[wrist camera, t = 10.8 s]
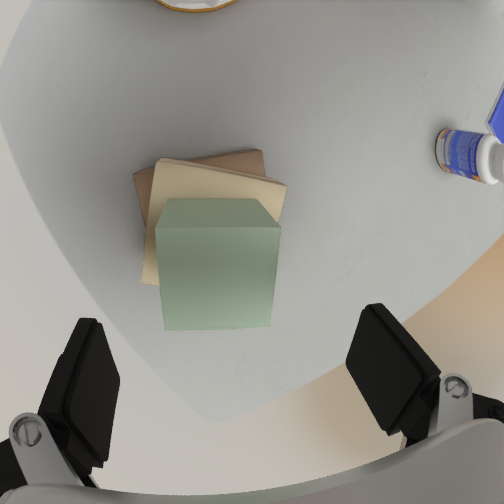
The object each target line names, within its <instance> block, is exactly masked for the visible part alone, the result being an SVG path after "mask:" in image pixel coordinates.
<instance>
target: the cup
mask: <svg viewBox="0 0 504 504" xmlns="http://www.w3.org/2000/svg"><path fill="white" fill-rule="evenodd" d="M157 1H158V2H160V3H161V4H163V5H164V6H166V7H168V8H170V9H172V10H178V11H184V12H205V11H214V10H216V9H219V8H222V7H224V6H227V5H229V4H231V3H233V2H234V1H236V0H157Z"/></svg>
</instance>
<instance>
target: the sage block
mask: <svg viewBox="0 0 504 504" xmlns="http://www.w3.org/2000/svg"><path fill="white" fill-rule="evenodd" d="M280 233H281V227H280V226H279V224H278V223H277V222H276V221H275V220H274V218H273V217H272V216H271V215H270V214H269V212H268V211H267V210H266V209H265V208H264V206H263V205H262V204H261V203H260V202H259V201H258V199H226V198H187V199H168V200H167V202H166V204H165V206H164V209H163V211H162V213H161V216H160V218H159V220H158V223H157V225H156V227H155V234H156V250H157V263H158V274H159V284H160V294H161V303H162V311H163V319H164V326H165V330H214V329H237V328H255V327H270V320H271V312H272V304H273V296H274V287H275V279H276V270H277V261H278V252H279V242H280Z"/></svg>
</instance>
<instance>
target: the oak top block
mask: <svg viewBox="0 0 504 504" xmlns="http://www.w3.org/2000/svg"><path fill="white" fill-rule="evenodd" d="M286 191H287V186H286V185H284V184H283V183H281V182H279V181H278V180H276V179H272V178H267V177H263V176H258V175H254V174H249V173H245V172H240V171H235V170H230V169H225V168H220V167H215V166H209V165H204V164H198V163H192V162H187V161H181V160H174V159H168V158H161V159H159V160H158V161H156V166H155V172H154V178H153V184H152V190H151V197H150V204H149V211H148V219H147V227H146V236H145V246H144V256H143V269H142V283H144V284H150V285H157V286H160V284H159V274H158V263H157V250H156V234H155V227H156V225H157V223H158V220H159V218H160V216H161V213H162V211H163V209H164V206H165V204H166V202H167V200H168V199H187V198H226V199H258V201H259V202H260V203H261V204H262V205H263V206H264V208H265V209H266V210H267V211H268V212H269V214H270V215H271V216H272V217H273V218H274V220H275V221H276V222H277V223H278V220H279V216H280V213H281V209H282V206H283V202H284V198H285V195H286Z"/></svg>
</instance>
